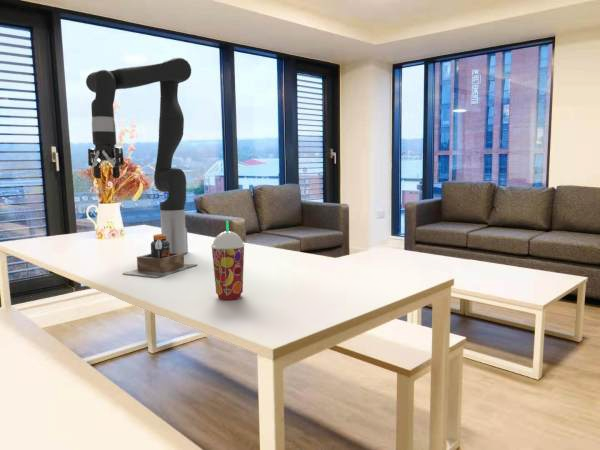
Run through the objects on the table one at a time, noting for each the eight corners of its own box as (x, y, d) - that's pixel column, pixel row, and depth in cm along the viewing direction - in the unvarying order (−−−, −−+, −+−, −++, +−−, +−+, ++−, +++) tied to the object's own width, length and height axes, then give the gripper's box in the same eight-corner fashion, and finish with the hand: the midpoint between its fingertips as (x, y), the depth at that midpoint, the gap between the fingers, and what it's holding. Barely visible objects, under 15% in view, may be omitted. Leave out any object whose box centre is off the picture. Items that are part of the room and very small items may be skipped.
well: (165, 262, 172) (164, 249, 172) (197, 265, 166) (196, 251, 166) (122, 274, 154) (121, 259, 154) (156, 278, 148) (156, 262, 148)
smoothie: (214, 293, 129) (212, 219, 127) (246, 292, 130) (244, 218, 128) (211, 302, 121) (208, 222, 119) (245, 301, 122) (243, 222, 119)
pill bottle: (165, 270, 157) (163, 236, 155) (148, 270, 158) (146, 235, 157) (173, 266, 163) (172, 233, 161) (157, 266, 164) (155, 233, 162)
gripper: (127, 130, 167) (130, 178, 169) (97, 132, 173) (100, 178, 175) (110, 129, 160) (113, 178, 162) (80, 131, 166) (83, 178, 168)
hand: (106, 178), depth 169 cm, fingers open, 8 cm apart
